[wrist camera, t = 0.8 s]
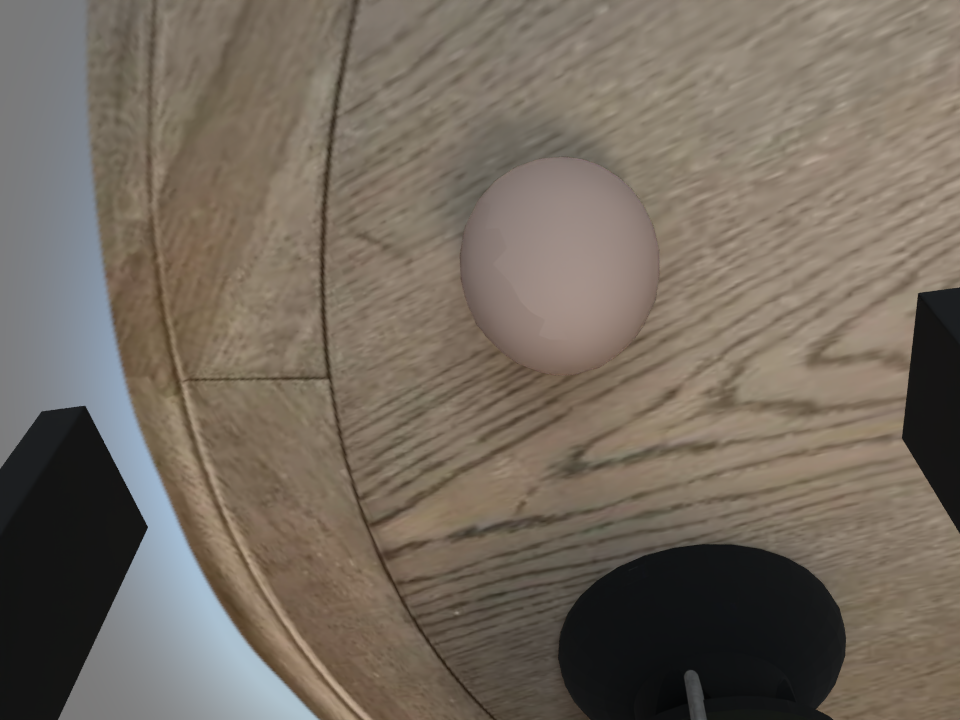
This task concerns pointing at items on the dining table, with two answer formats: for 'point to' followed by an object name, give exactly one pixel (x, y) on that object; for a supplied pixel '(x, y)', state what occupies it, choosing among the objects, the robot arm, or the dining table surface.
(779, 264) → the dining table surface
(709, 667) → the lantern
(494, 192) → the egg
